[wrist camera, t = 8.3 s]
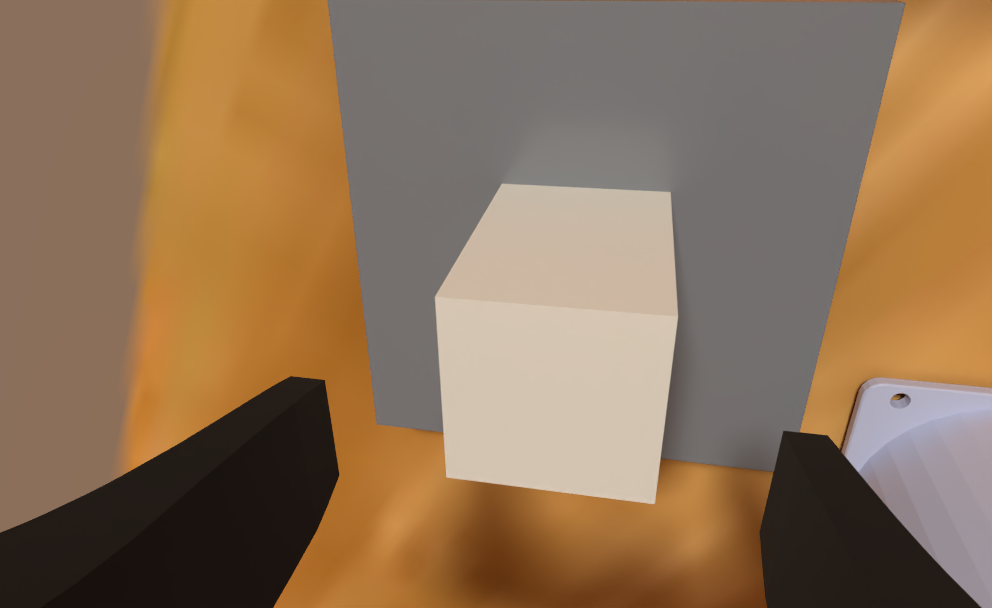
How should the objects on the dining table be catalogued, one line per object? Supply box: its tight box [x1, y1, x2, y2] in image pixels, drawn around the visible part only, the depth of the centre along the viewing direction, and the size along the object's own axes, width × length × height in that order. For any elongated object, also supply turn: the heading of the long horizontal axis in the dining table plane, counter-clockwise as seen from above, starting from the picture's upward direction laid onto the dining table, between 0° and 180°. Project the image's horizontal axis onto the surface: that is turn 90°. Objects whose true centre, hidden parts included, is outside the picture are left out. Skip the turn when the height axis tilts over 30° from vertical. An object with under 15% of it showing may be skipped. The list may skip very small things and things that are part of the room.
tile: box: [328, 0, 905, 472], centre depth 19 cm, size 12×12×2 cm
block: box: [435, 184, 678, 504], centre depth 15 cm, size 4×4×6 cm
